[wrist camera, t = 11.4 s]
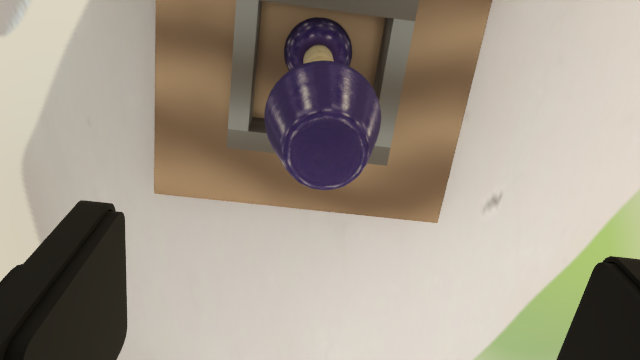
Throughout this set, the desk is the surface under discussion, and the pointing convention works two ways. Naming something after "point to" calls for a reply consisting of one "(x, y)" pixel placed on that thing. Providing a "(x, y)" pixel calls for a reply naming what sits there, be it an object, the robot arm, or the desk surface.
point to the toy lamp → (322, 108)
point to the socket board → (269, 66)
